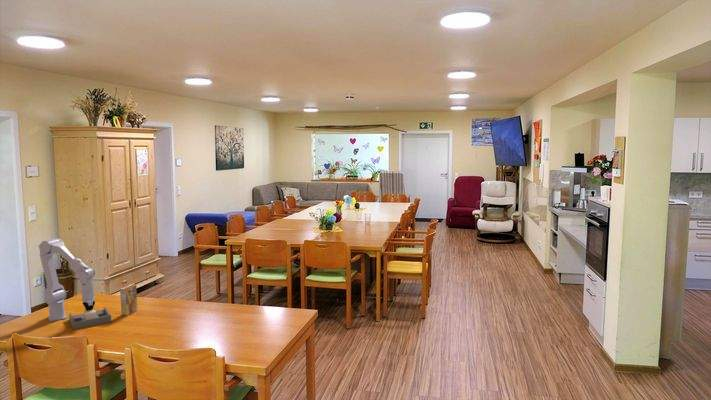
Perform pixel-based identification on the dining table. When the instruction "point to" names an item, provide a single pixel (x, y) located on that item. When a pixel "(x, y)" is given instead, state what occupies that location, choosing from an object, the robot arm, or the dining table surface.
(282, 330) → the dining table surface
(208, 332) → the dining table surface
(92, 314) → the cream block
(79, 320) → the trap box
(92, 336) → the dining table surface
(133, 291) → the candy box
